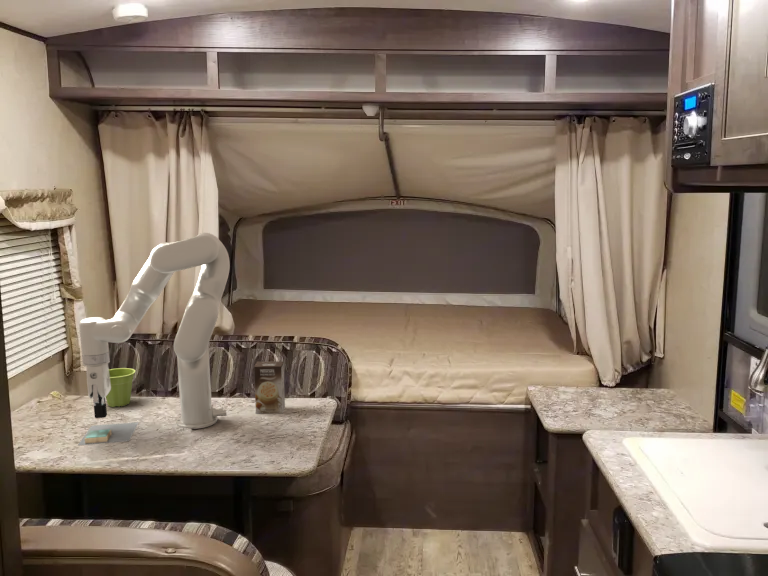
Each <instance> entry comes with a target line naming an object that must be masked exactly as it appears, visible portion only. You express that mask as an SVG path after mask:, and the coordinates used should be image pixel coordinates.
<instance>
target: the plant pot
mask: <svg viewBox="0 0 768 576" xmlns="http://www.w3.org/2000/svg"><path fill="white" fill-rule="evenodd" d="M135 373H136V370H135V369H134V368H127V367H120V368H111V369H110V368H109V375H110V382H111V390H110V392H109V393H108V395H107V396H106V397H105V398H106V405H107V406H108V407H112V408H115V407H119V408H120V406H121V407H124V406H127V404H128V405H129V404H130V403H131V399H132V397H131V396H132V390H133V389H132V388H133V387H132V386H133V381H134V375H135Z"/></svg>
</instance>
